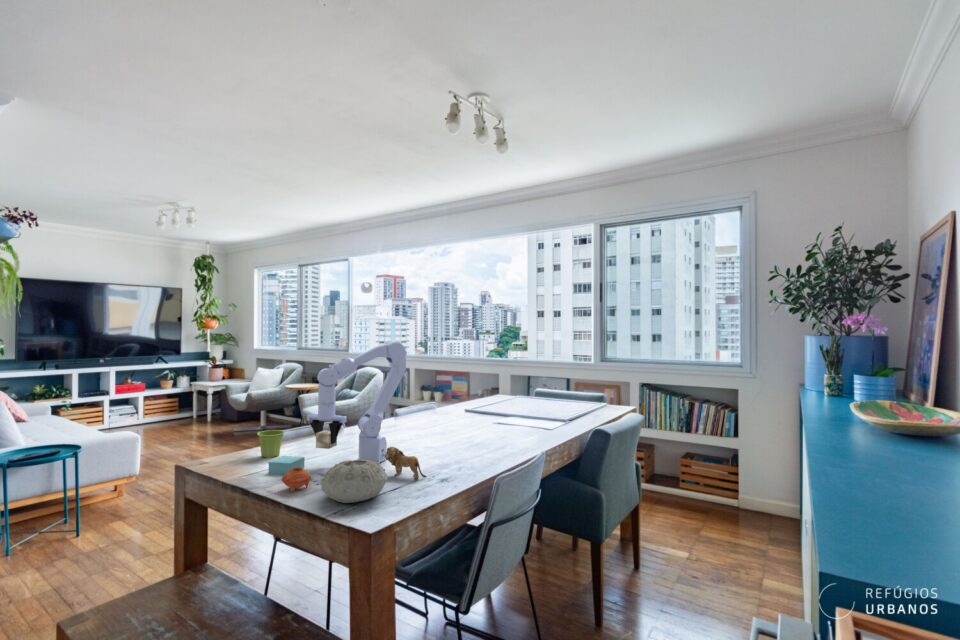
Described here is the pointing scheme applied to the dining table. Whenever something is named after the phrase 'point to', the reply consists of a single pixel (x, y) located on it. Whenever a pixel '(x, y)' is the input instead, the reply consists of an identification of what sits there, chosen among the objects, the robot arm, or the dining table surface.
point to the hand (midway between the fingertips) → (326, 442)
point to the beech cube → (324, 440)
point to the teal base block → (285, 464)
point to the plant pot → (270, 442)
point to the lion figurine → (402, 461)
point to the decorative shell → (354, 480)
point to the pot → (296, 478)
